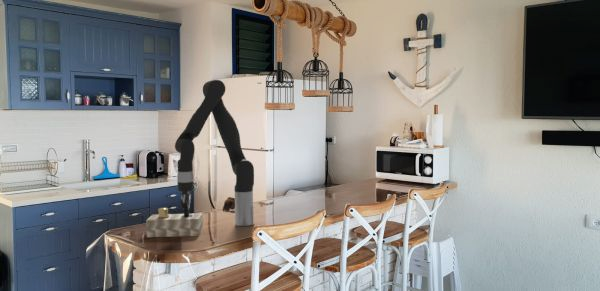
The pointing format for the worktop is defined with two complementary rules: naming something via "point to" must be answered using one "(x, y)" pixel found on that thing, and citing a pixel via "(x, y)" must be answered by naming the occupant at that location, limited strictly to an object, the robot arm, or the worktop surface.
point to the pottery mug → (229, 204)
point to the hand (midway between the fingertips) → (186, 216)
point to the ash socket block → (174, 225)
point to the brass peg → (163, 212)
